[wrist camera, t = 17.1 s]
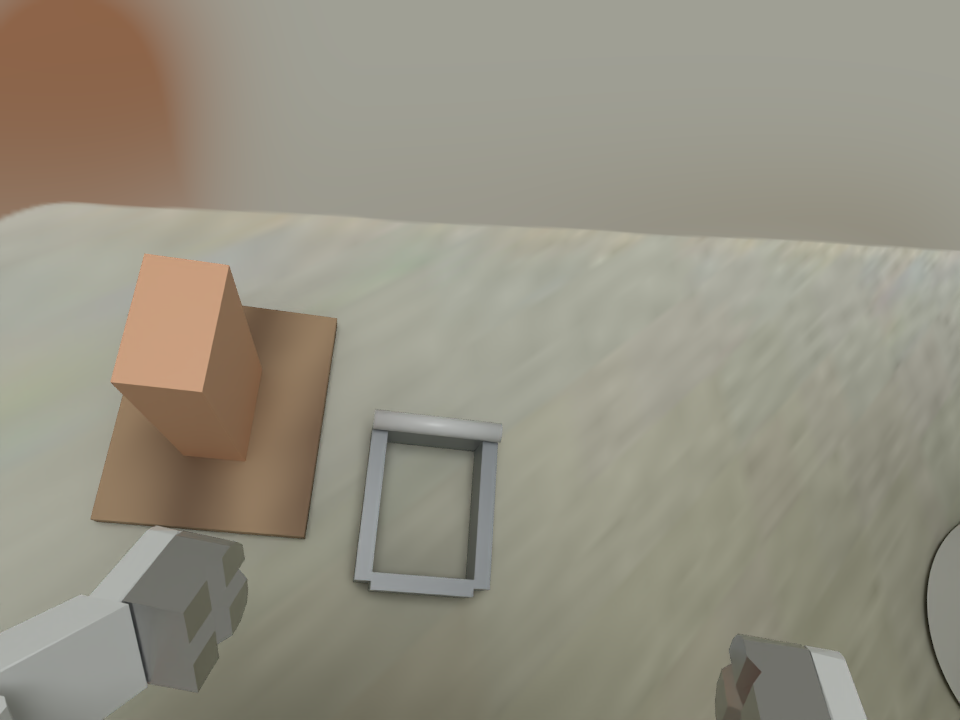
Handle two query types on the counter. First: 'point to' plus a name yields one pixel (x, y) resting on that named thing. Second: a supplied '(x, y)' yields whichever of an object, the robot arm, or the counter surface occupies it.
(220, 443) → the tan rectangular prism
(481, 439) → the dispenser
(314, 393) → the pad
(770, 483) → the counter surface
